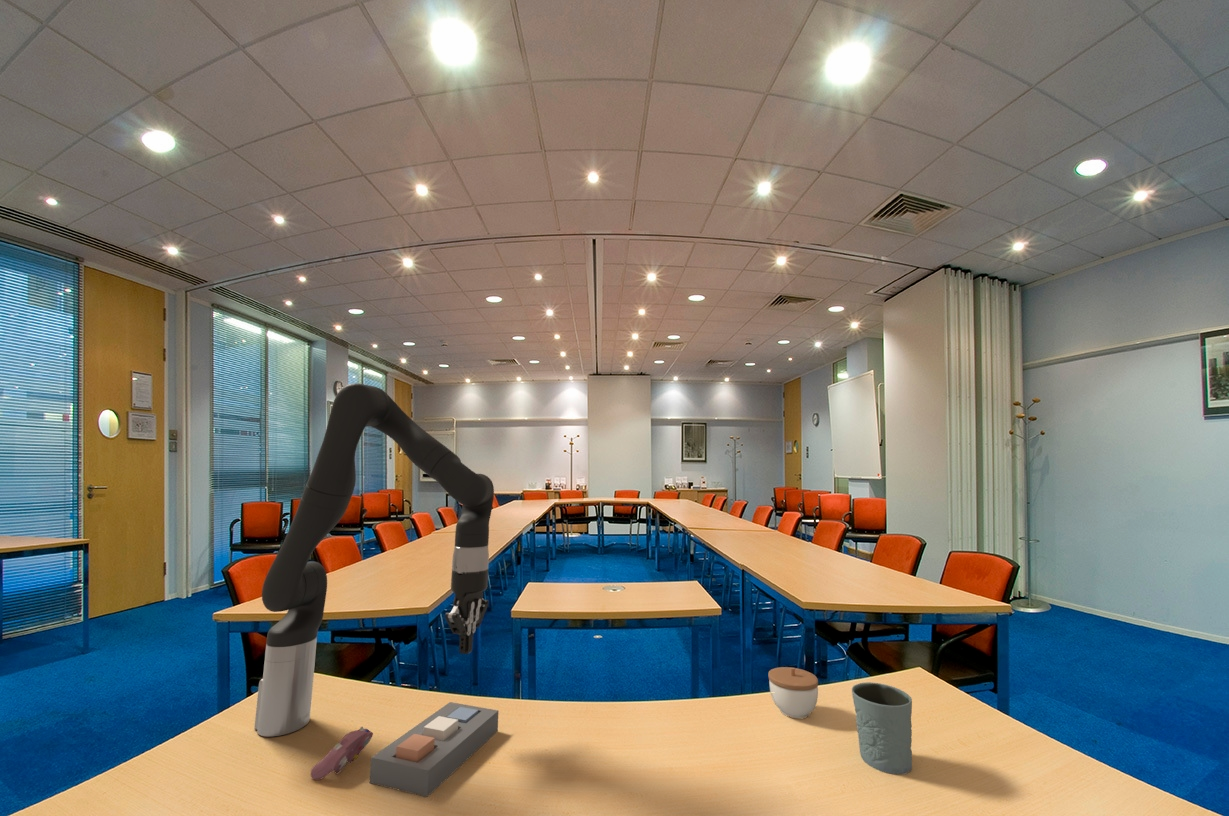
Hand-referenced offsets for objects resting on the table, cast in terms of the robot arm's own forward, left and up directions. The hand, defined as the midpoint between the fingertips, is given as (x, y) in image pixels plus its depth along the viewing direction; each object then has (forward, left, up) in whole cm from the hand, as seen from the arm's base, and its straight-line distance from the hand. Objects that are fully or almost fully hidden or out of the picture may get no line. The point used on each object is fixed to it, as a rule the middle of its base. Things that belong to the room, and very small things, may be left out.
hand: (465, 652), depth 101 cm
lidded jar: (+66, +33, -16) cm, 75 cm away
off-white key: (0, -7, -13) cm, 15 cm away
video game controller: (-14, -16, -16) cm, 27 cm away
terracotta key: (0, -14, -13) cm, 19 cm away
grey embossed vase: (+81, +17, -16) cm, 84 cm away
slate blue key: (0, 0, -14) cm, 14 cm away
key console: (0, -7, -16) cm, 18 cm away
